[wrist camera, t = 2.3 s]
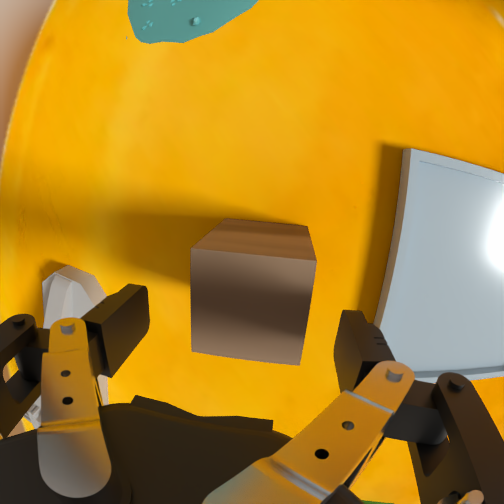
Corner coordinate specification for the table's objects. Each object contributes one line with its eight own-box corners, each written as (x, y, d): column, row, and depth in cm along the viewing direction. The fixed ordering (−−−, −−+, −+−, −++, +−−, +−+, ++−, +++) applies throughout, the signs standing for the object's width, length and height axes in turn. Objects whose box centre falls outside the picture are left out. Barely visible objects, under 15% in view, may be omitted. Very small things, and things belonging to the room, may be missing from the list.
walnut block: (225, 218, 19) (190, 248, 12) (307, 226, 18) (316, 261, 12) (222, 293, 20) (191, 351, 14) (297, 301, 20) (299, 365, 13)
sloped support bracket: (110, 280, 21) (44, 329, 14) (111, 424, 27) (78, 474, 19) (57, 258, 22) (-12, 293, 14) (69, 402, 27) (33, 446, 19)
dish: (402, 149, 16) (411, 148, 15) (556, 196, 15) (566, 198, 13) (358, 372, 21) (361, 384, 19) (507, 366, 19) (513, 374, 18)
